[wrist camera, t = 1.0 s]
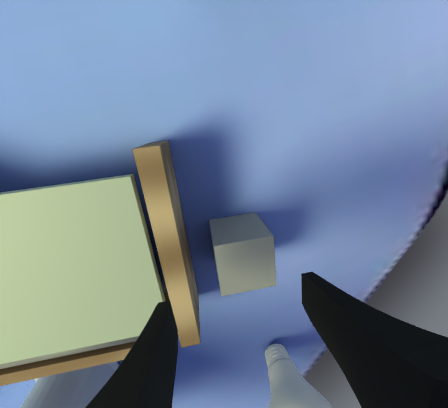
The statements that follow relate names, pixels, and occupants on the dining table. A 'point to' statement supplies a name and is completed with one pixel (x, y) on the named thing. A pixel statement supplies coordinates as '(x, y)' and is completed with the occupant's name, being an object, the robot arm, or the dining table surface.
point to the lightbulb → (289, 382)
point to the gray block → (243, 253)
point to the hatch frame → (169, 258)
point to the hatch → (74, 269)
